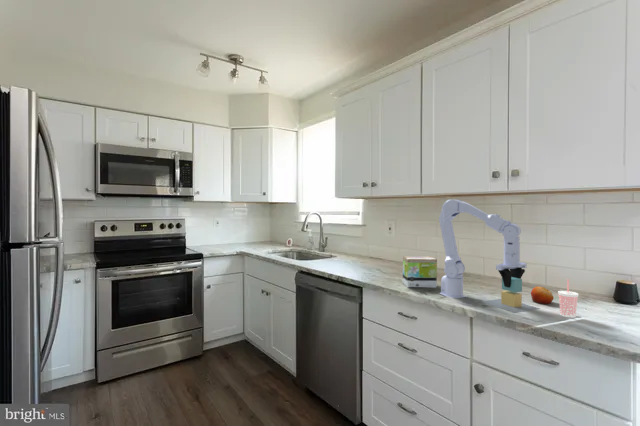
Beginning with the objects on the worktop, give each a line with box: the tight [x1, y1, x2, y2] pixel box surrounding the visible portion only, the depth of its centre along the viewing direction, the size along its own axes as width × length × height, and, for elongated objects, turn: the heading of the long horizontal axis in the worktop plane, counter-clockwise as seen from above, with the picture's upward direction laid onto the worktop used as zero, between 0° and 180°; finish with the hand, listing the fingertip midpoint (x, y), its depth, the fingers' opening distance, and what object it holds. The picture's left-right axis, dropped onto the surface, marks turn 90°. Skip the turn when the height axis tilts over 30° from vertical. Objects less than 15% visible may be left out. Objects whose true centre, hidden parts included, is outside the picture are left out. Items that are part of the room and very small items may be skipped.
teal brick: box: [501, 277, 523, 293], centre depth 136 cm, size 6×4×5 cm, turn 20°
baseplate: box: [480, 298, 541, 314], centre depth 136 cm, size 16×14×1 cm
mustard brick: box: [500, 290, 523, 307], centre depth 136 cm, size 6×4×5 cm, turn 20°
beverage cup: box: [557, 278, 579, 320], centre depth 123 cm, size 6×6×14 cm
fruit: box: [530, 285, 554, 305], centre depth 140 cm, size 8×8×8 cm
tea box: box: [402, 255, 438, 289], centre depth 172 cm, size 15×10×15 cm, turn 91°
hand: (511, 286), depth 136 cm, fingers closed on teal brick, 4 cm apart
